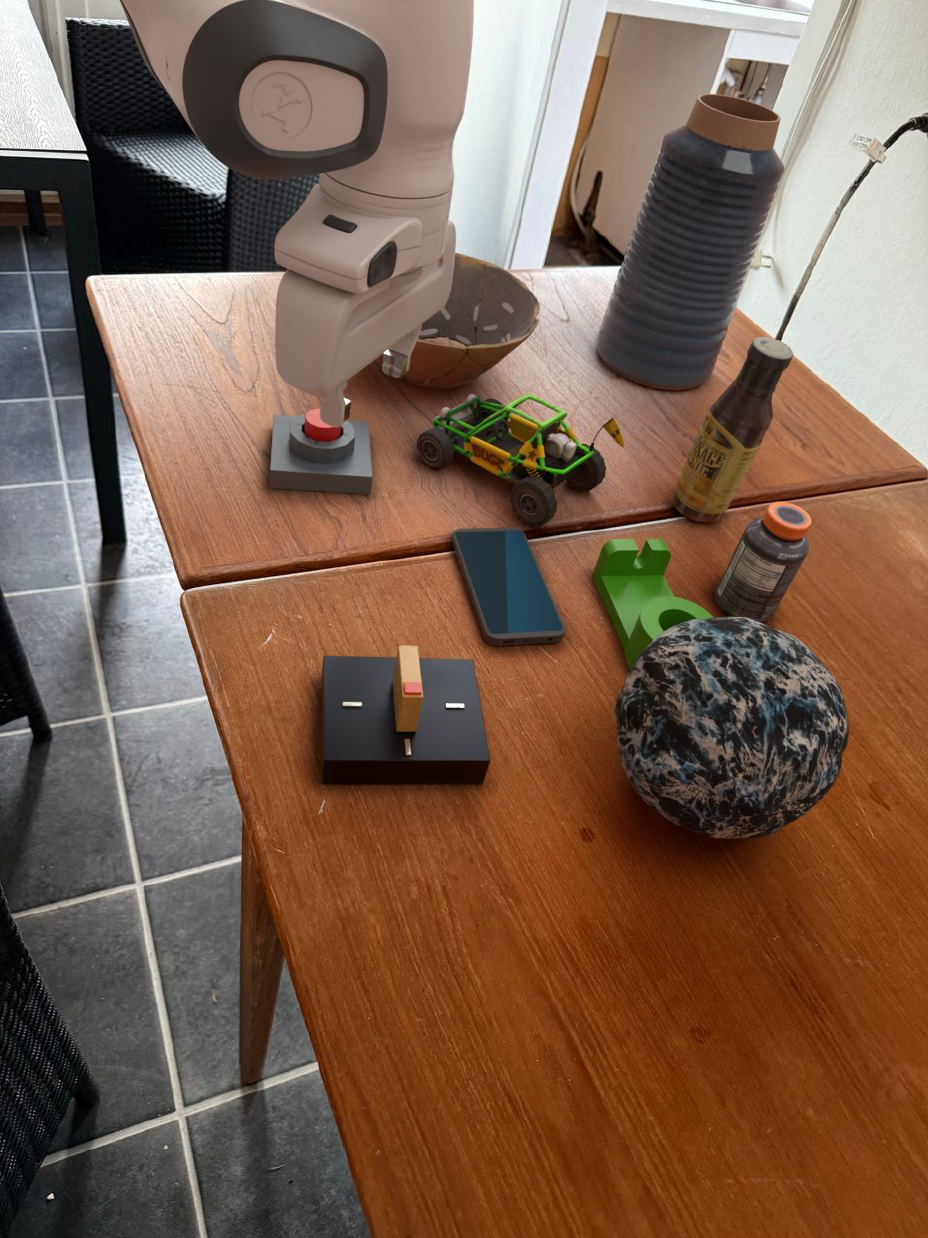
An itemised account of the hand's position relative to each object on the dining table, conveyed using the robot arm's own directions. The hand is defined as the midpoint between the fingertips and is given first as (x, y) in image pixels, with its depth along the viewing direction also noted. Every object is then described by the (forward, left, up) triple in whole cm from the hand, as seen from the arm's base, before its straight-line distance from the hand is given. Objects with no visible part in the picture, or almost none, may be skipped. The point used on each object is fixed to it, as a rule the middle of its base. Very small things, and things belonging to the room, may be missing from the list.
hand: (366, 395), depth 70 cm
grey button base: (-3, +15, -17) cm, 23 cm away
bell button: (-3, +15, -14) cm, 21 cm away
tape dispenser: (+27, -8, -17) cm, 33 cm away
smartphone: (+14, -3, -17) cm, 23 cm away
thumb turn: (+3, -20, -14) cm, 25 cm away
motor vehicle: (+17, +15, -17) cm, 29 cm away
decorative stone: (+26, -25, -17) cm, 40 cm away
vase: (+42, +44, -17) cm, 64 cm away
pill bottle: (+38, -4, -17) cm, 42 cm away
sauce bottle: (+38, +11, -17) cm, 44 cm away
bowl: (+10, +37, -17) cm, 42 cm away
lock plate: (+3, -20, -17) cm, 27 cm away
